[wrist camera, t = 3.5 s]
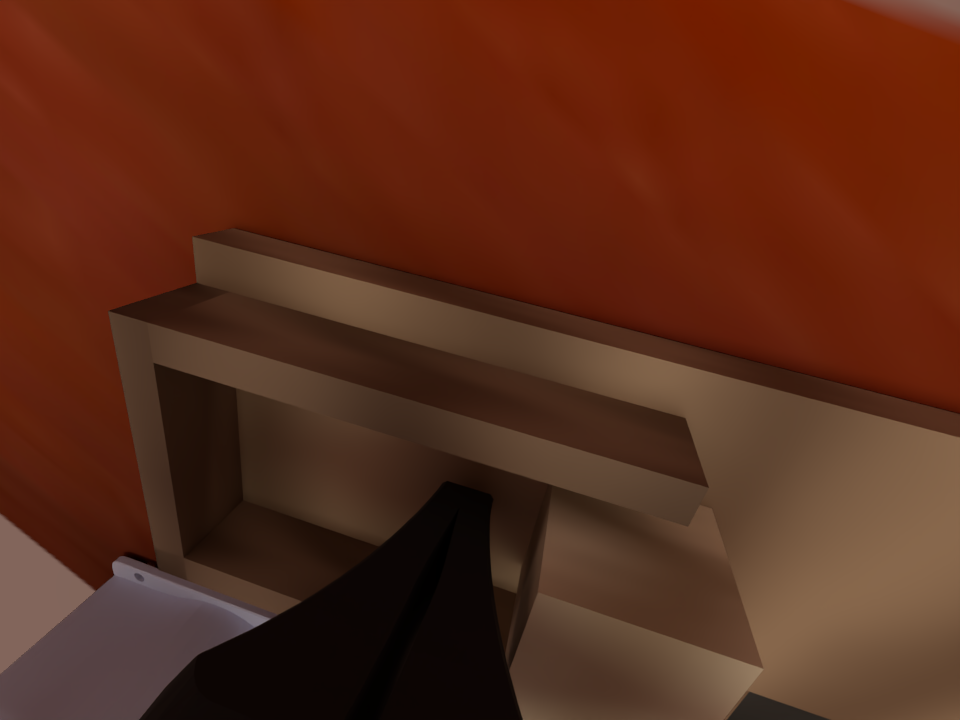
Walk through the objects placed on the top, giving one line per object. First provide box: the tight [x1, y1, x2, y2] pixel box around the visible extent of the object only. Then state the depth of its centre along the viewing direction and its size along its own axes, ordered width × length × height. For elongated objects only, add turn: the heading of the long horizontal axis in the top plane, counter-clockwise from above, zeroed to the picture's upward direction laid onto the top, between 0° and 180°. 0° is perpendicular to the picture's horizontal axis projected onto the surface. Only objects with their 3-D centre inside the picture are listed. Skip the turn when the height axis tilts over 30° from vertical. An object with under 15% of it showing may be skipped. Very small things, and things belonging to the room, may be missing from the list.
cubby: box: [108, 283, 709, 653], centre depth 12 cm, size 13×8×2 cm, turn 79°
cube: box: [505, 484, 764, 720], centre depth 11 cm, size 4×4×4 cm
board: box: [192, 228, 960, 720], centre depth 13 cm, size 28×14×4 cm, turn 79°
